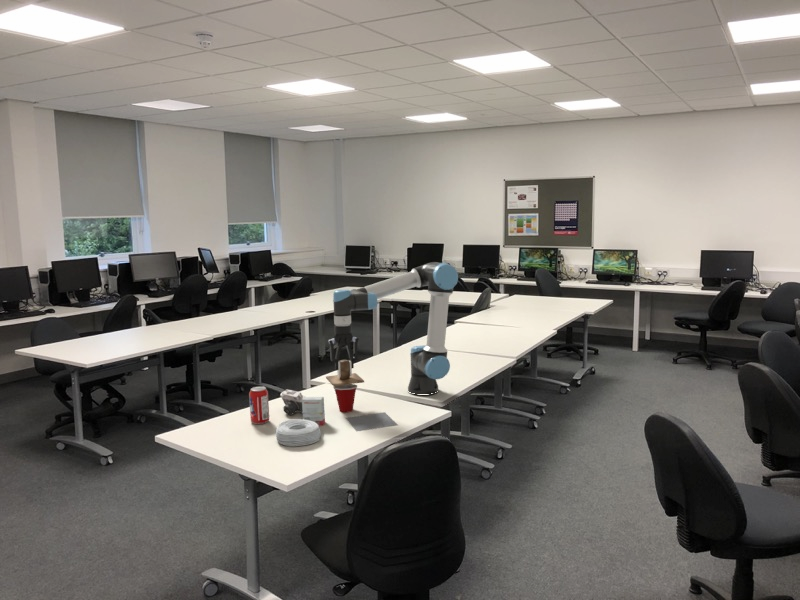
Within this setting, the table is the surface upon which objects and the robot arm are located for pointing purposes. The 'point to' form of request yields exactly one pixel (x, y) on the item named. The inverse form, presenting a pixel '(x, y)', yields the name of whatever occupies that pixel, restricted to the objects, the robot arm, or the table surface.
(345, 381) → the lid
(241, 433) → the table surface
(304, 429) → the cable
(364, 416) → the mat
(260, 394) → the soda can
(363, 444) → the table surface
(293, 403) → the camera
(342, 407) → the plastic cup
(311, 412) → the ink box
